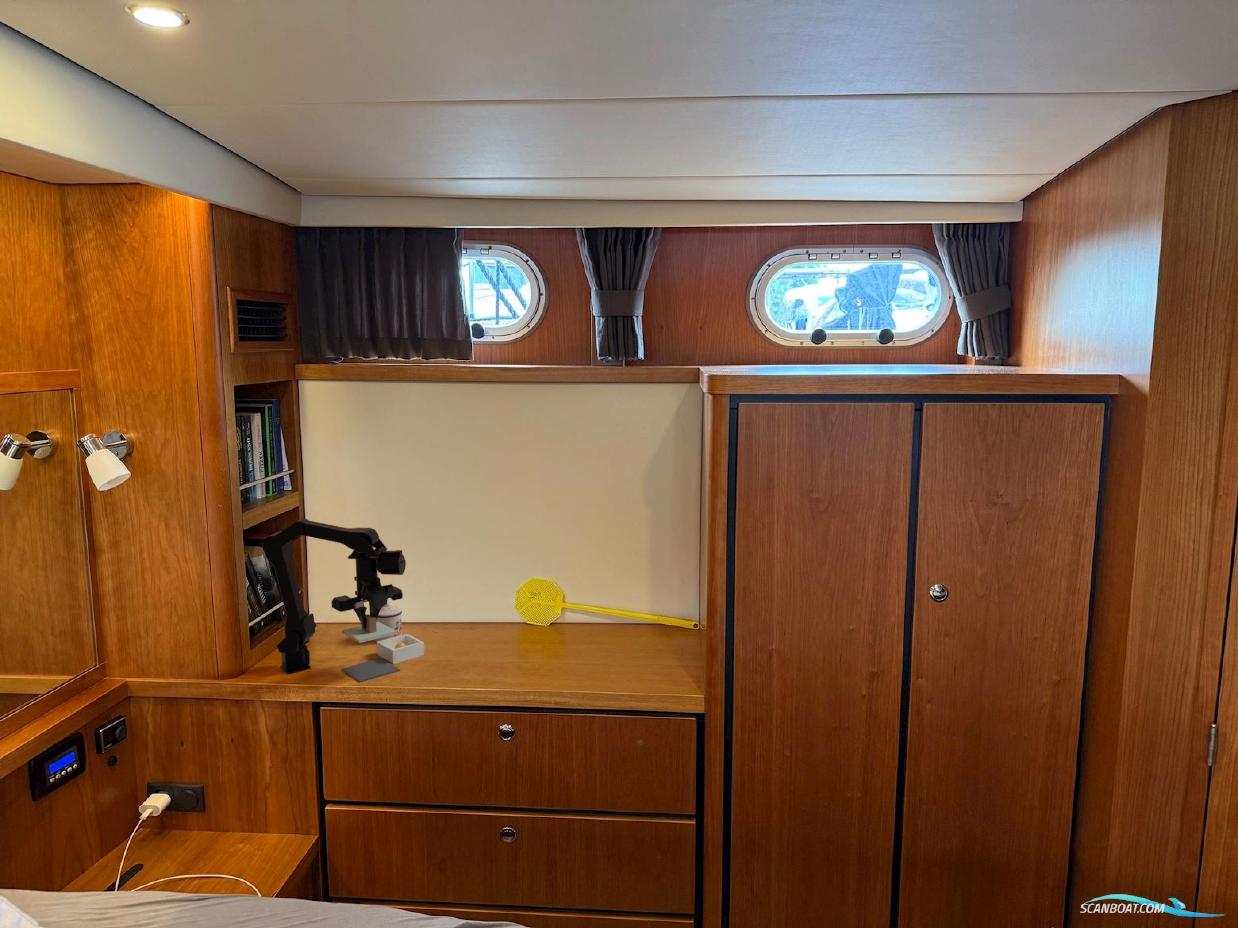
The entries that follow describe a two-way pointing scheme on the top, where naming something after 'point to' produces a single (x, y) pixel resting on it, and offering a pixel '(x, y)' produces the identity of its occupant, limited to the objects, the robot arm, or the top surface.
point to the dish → (400, 648)
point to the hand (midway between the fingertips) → (368, 627)
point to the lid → (369, 630)
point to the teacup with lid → (390, 620)
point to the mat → (370, 669)
